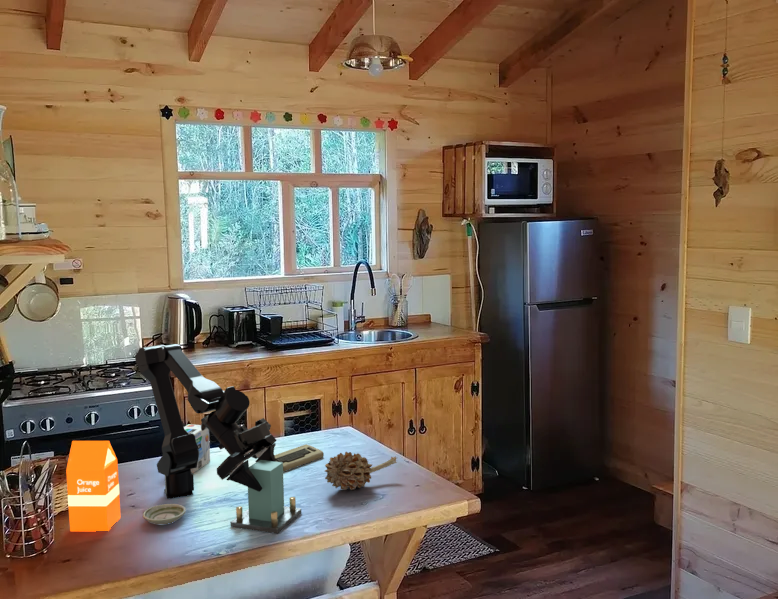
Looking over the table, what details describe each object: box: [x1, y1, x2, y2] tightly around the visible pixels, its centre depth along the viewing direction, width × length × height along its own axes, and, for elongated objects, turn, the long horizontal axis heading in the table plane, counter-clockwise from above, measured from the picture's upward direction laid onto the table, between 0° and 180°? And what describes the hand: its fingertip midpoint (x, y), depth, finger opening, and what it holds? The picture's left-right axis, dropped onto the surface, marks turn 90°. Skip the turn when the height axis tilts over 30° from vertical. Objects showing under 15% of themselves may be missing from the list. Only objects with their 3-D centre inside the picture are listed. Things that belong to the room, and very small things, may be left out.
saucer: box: [142, 503, 187, 525], centre depth 175 cm, size 10×10×2 cm
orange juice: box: [65, 440, 122, 533], centre depth 172 cm, size 8×9×20 cm
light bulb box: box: [183, 424, 211, 474], centre depth 212 cm, size 11×7×11 cm, turn 168°
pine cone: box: [324, 451, 398, 491], centre depth 195 cm, size 22×10×10 cm, turn 129°
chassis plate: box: [230, 496, 302, 535], centre depth 174 cm, size 12×12×4 cm
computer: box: [274, 443, 325, 472], centre depth 215 cm, size 16×8×3 cm, turn 140°
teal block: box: [247, 460, 285, 521], centre depth 174 cm, size 6×6×12 cm
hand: (270, 483), depth 173 cm, fingers open, 9 cm apart
